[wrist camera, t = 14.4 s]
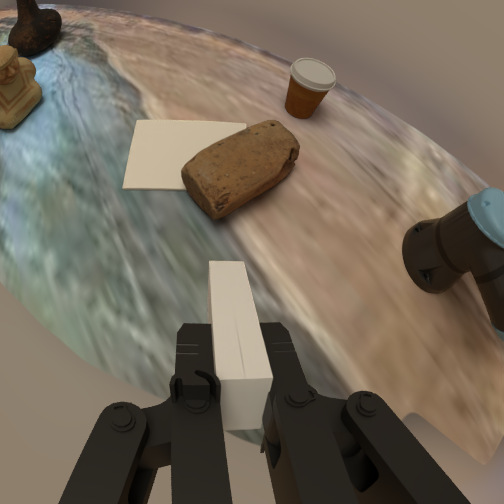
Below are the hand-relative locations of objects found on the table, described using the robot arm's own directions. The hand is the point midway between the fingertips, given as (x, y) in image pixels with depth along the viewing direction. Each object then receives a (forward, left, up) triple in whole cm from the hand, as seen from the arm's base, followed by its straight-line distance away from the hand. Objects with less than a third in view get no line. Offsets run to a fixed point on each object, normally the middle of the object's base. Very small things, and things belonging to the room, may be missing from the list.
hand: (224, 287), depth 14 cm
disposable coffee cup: (-19, -47, -34) cm, 61 cm away
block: (+2, -21, -30) cm, 36 cm away
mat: (+4, -32, -34) cm, 47 cm away
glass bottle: (+56, -77, -34) cm, 101 cm away
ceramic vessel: (+49, -48, -34) cm, 77 cm away
